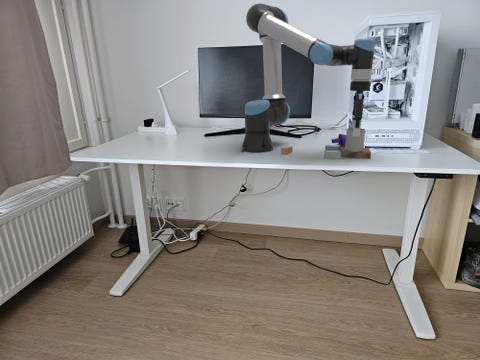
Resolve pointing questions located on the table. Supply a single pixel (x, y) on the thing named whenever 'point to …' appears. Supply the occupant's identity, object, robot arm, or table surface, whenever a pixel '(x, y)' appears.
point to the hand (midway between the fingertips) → (354, 133)
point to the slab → (355, 153)
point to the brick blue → (332, 147)
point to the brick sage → (332, 154)
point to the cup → (354, 141)
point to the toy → (340, 140)
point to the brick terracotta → (286, 150)
